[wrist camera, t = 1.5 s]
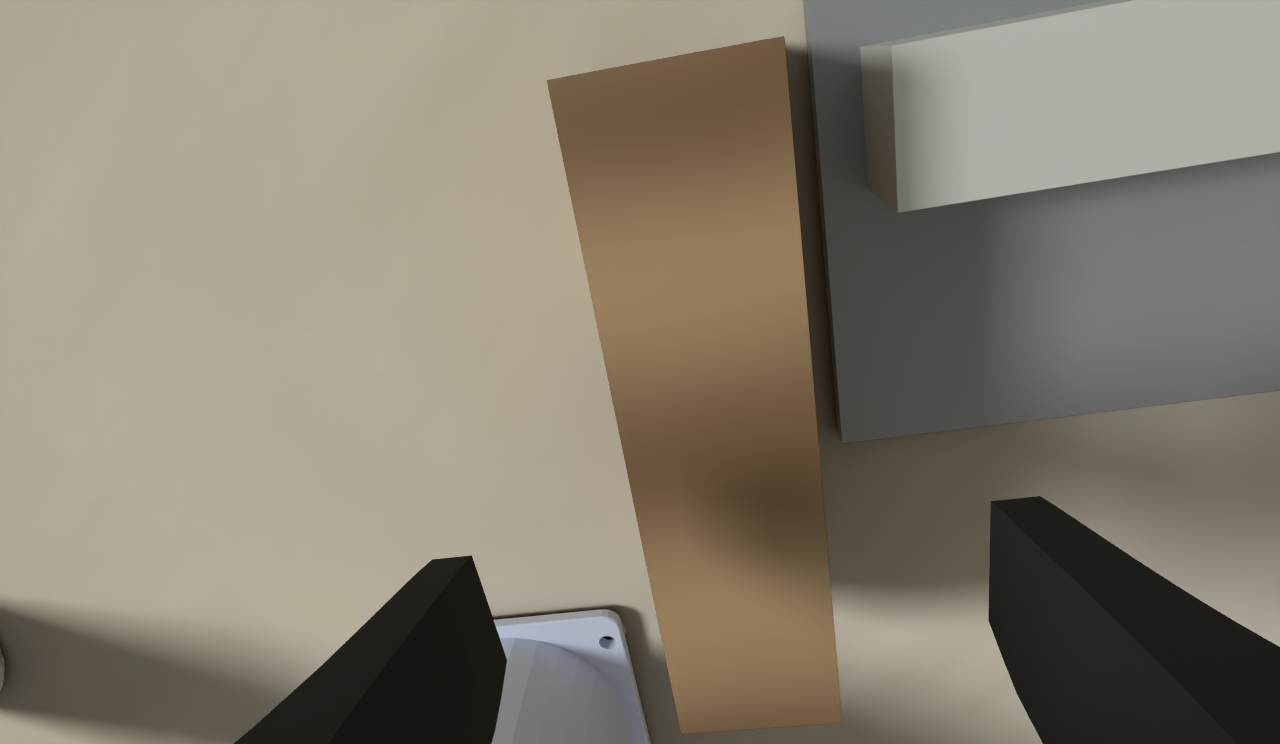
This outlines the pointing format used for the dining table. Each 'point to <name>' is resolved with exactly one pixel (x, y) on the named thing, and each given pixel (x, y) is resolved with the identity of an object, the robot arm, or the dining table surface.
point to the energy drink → (1, 669)
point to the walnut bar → (710, 370)
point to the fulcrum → (1045, 206)
